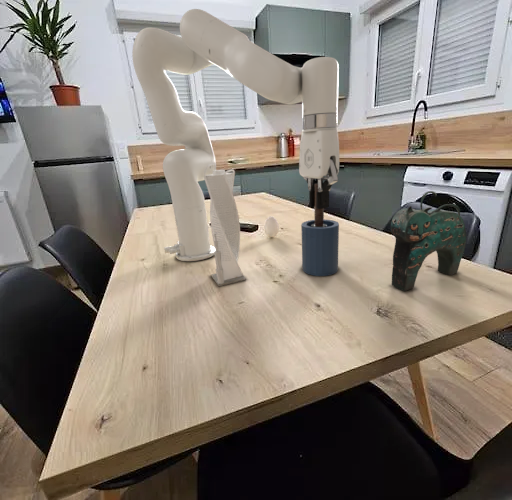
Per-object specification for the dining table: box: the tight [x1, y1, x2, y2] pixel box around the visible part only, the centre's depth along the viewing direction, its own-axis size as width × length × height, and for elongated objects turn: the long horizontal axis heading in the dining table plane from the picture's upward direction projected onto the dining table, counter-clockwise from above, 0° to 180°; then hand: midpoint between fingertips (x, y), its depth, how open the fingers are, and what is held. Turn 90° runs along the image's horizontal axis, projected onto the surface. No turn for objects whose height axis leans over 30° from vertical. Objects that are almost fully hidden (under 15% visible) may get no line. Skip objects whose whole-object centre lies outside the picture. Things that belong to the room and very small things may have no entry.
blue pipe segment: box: [300, 218, 340, 277], centre depth 74 cm, size 9×9×12 cm
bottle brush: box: [311, 183, 327, 227], centre depth 72 cm, size 4×4×15 cm
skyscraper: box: [204, 163, 247, 287], centre depth 71 cm, size 8×8×28 cm
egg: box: [263, 215, 280, 238], centre depth 105 cm, size 5×5×8 cm
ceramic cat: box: [390, 190, 467, 292], centre depth 63 cm, size 20×6×20 cm, turn 114°
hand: (319, 206), depth 71 cm, fingers closed on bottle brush, 2 cm apart
